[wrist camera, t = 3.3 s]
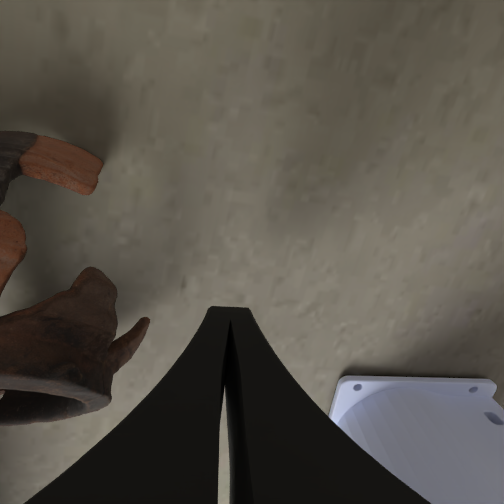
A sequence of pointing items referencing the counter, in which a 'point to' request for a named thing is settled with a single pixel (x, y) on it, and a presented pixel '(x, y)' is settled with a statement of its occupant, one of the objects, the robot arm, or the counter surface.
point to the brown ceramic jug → (56, 305)
